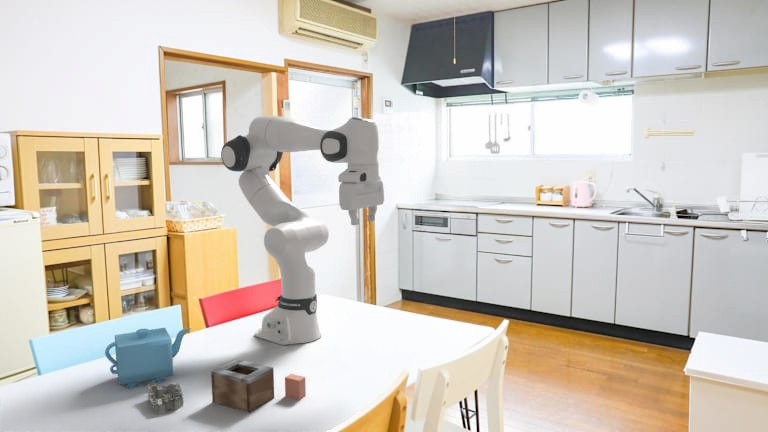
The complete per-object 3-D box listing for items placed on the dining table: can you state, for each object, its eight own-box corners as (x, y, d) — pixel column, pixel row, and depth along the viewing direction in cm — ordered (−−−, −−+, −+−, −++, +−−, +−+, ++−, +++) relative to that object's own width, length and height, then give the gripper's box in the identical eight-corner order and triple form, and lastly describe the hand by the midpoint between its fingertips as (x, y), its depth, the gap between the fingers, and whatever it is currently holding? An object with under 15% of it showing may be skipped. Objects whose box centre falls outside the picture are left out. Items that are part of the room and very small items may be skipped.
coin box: (212, 402, 137) (211, 371, 136) (237, 388, 145) (236, 359, 144) (249, 412, 131) (248, 380, 130) (274, 397, 139) (273, 367, 138)
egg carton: (146, 399, 139) (146, 383, 139) (178, 392, 143) (177, 377, 142) (152, 416, 130) (151, 399, 130) (185, 409, 134) (185, 392, 133)
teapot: (108, 393, 142) (105, 341, 140) (105, 378, 151) (102, 329, 149) (197, 376, 152) (195, 328, 151) (189, 363, 162) (187, 317, 160)
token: (285, 396, 140) (284, 377, 140) (291, 392, 142) (290, 373, 142) (299, 399, 138) (299, 380, 137) (305, 395, 140) (305, 377, 140)
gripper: (370, 173, 168) (370, 218, 169) (334, 176, 150) (335, 226, 151) (389, 173, 165) (389, 219, 167) (355, 176, 147) (355, 228, 148)
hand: (363, 223), depth 159 cm, fingers open, 8 cm apart
